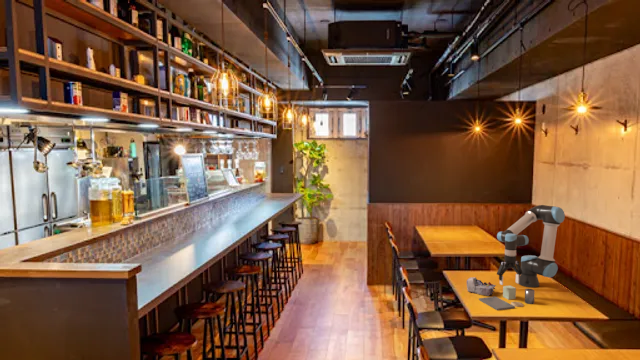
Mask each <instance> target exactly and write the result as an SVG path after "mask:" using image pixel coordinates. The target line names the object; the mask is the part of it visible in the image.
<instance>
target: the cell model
mask: <svg viewBox="0 0 640 360" xmlns="http://www.w3.org/2000/svg"><path fill="white" fill-rule="evenodd" d="M466 288H467V292H469V293H474V294H476V295H481V296H487V297H488V296H489V297H490V295H494V294H493V293H494V292H495V290H496V284H494V283H491V282H488V283H487V281H486V282H482V280H481V279H477V277H474V276H473V277H468V279H467V280H466Z"/></svg>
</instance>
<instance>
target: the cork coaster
mask: <svg viewBox="0 0 640 360" xmlns="http://www.w3.org/2000/svg"><path fill="white" fill-rule="evenodd" d="M510 304H511V305H513V306H515V308H516V307H517V308H522V307H524V306H525V305H524V303H522V302H520V301H511V302H510Z"/></svg>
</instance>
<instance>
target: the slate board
mask: <svg viewBox="0 0 640 360" xmlns="http://www.w3.org/2000/svg"><path fill="white" fill-rule="evenodd" d="M478 300H479V301H480V302H481V303H483V304H484V305H486V306H489V307H490V308H492V309H494V310H496V311H503V310H504V311H505V310H511V309H516V306H513V305H511V303H508V302H507V301H505V300H503V299H501V298H500V297H497V296H489V297H488V296H487V297H481V298H480V297H479V298H478Z"/></svg>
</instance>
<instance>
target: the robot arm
mask: <svg viewBox="0 0 640 360" xmlns="http://www.w3.org/2000/svg"><path fill="white" fill-rule="evenodd" d="M538 220H542V224H543V225H544V226H543V227H544V228H543V233H542V242H541V248H540V249H541V250H540V255H539V256H536V255H531V254H530V255H529V254H528V255H523V256H521V258H520V261H518V260H517V247H524V246H526V245H529V241H530V240H529V237H528V236H527V235H524V234H520V233H521V232H522V231H523V230H525V229H526V228H527V227H528V226H530V225H531V224H532V223H535V222H537V221H538ZM564 221H565V211H564V209H563V208H562V207H559V206H553V205H546V204H545V205H544V204H539V205H535V206H534V207H531V208H530V209H528V210H527V211H525V213H524V215H523V216H521V217H520V218H519V219H518V220H516V222H514V223H513V224H512V225H511V226H509V227H508V228H507V229H506V230H504V231H498V232H497V234H496V238H497V241H499V242H502V243H504V257H503V259H504V261H501V262H500V265H499V267H498V270H497V272H496V275H497V276H498V279H499V285H501V286H503V285H504V274H505V273H506V271H507V270H509V269H513V271H514V272H515V283H516V284H518V285H520V286H523V287H526V288H538V287H540V281H539V278H538V275H539V276H542V277H544V278H549V279H550V278H553V277H554V276H555V275H557V272H558V269H559V267H558V264H557V263H556V260H555V259H554V256H555V255H554V253H555V245H556V239H557V232H558V231H557V230H558V227H559V226H560V225H561V223H563V222H564Z"/></svg>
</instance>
